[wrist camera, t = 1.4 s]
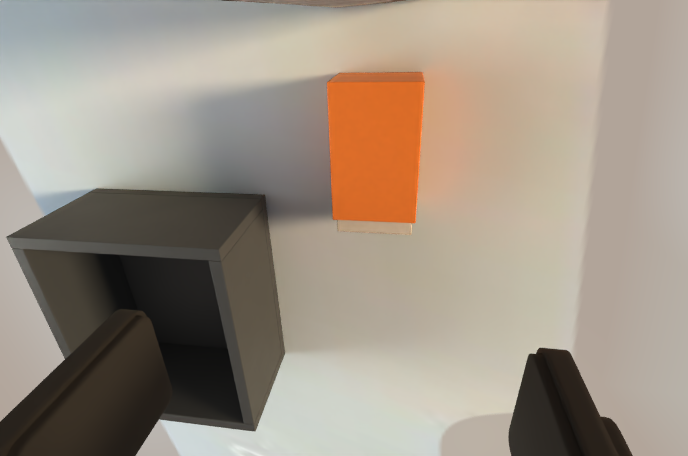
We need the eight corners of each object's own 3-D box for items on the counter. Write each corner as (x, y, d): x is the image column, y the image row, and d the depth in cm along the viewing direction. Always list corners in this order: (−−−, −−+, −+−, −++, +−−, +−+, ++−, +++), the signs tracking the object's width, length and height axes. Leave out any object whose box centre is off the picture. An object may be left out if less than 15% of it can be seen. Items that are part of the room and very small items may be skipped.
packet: (338, 72, 24) (326, 82, 21) (422, 71, 23) (424, 81, 20) (343, 207, 28) (333, 234, 25) (413, 210, 27) (414, 238, 24)
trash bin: (96, 188, 31) (5, 236, 24) (264, 194, 29) (219, 249, 22) (147, 340, 38) (89, 411, 31) (285, 353, 36) (255, 432, 29)
